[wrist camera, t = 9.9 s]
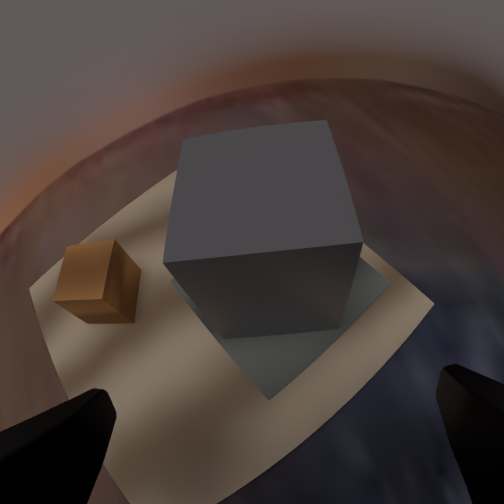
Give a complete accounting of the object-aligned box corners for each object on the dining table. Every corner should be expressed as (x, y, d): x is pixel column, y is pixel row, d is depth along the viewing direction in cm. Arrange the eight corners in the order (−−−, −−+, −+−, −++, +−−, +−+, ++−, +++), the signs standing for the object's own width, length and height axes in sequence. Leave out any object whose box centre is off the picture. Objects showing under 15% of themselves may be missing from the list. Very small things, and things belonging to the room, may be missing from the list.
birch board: (431, 306, 17) (435, 303, 17) (159, 534, 12) (155, 536, 12) (223, 144, 28) (221, 139, 28) (32, 290, 23) (28, 287, 22)
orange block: (134, 323, 19) (102, 298, 16) (87, 323, 20) (52, 301, 17) (141, 269, 22) (114, 238, 18) (96, 274, 22) (67, 246, 19)
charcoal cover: (338, 328, 17) (363, 242, 10) (223, 338, 18) (162, 262, 10) (323, 232, 21) (326, 120, 13) (224, 243, 21) (183, 139, 14)
